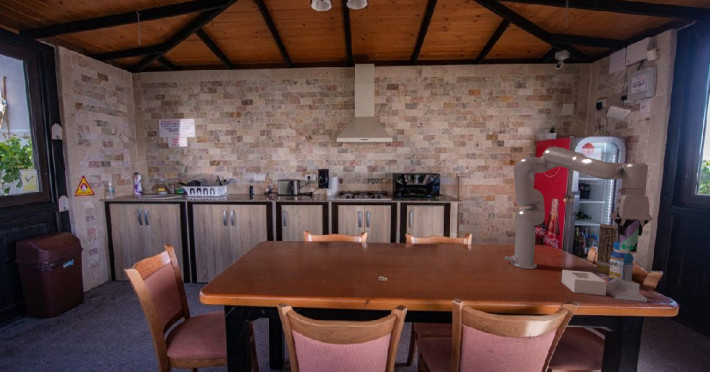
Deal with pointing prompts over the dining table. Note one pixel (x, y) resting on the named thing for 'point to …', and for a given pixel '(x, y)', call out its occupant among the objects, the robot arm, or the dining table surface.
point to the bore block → (584, 282)
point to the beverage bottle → (620, 264)
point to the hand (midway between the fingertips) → (629, 234)
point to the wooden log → (605, 247)
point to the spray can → (630, 236)
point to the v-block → (625, 290)
